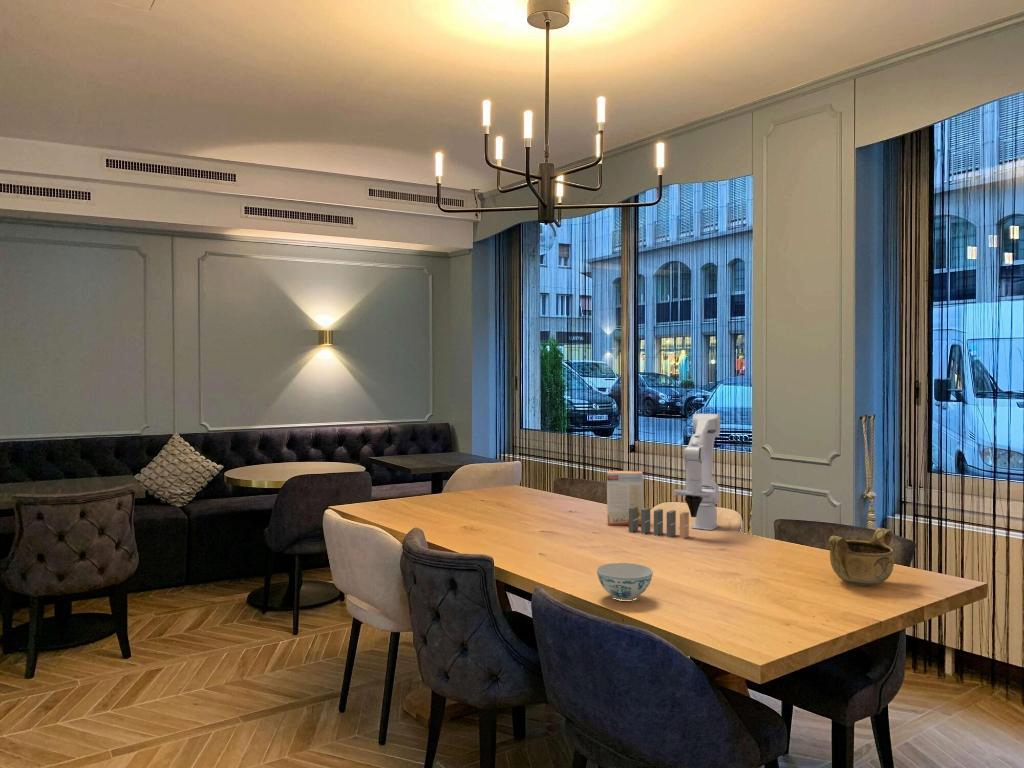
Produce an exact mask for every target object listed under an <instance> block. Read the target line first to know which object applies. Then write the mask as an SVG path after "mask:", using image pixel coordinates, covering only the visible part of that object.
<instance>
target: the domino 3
mask: <svg viewBox="0 0 1024 768" xmlns="http://www.w3.org/2000/svg"><path fill="white" fill-rule="evenodd" d="M676 519H677V513H676V510H674V509H672V510H668V511H667V512H666V537H667V536H668V537H667V538H673V537H674V536H676V535H677V531H676V530H677V528H676V527H677V524H676V523H677V520H676ZM675 534H676V535H675Z"/></svg>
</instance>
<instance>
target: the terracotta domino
mask: <svg viewBox="0 0 1024 768" xmlns="http://www.w3.org/2000/svg"><path fill="white" fill-rule="evenodd" d="M689 522H690V511H683V512H681V513H680V514H679V539H680V538H683V540H685V539H687V538H689V537H688V536H690V528H689V527H690V523H689ZM686 537H687V538H686Z"/></svg>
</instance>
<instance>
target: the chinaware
mask: <svg viewBox="0 0 1024 768" xmlns="http://www.w3.org/2000/svg"><path fill="white" fill-rule="evenodd" d="M596 573H597V574H596V575H597V577H598V581H599V583H600V585H601V586H602V588H603V589H604V591H606V592H607V593H608V594H609V595H611V598H612V597H613V598H616V599H620V600H621V599H622V600H633V599H635V598H637V599H638V596H640V595H642V594H643V593H644V592H645V591H646V590H647V588H649V585H650V584H651V581H652V578H653V573H654V570H653V569H652V568H651V567H649V566H646V565H644V564H643V565H642V564H640V563H631V562H613V563H611V562H610V563H605V564H602V565H599V566H598V567H596ZM613 598H612V599H613Z"/></svg>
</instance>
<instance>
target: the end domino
mask: <svg viewBox="0 0 1024 768" xmlns="http://www.w3.org/2000/svg"><path fill="white" fill-rule="evenodd" d="M636 530H637V531H639V525H638V507H636V506H634V507H631V508H629V525H628V532H629V531H630V532H629V533H632V532H633V531H635V532H637V531H636ZM633 533H634V532H633Z"/></svg>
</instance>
